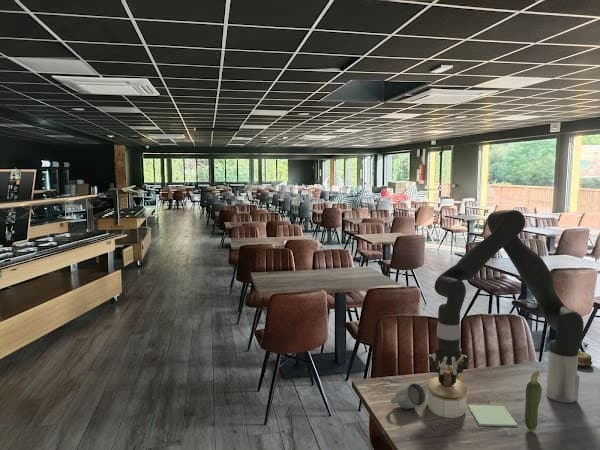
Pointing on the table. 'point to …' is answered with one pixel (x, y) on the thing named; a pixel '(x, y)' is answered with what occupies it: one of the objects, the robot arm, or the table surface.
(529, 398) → the vegetable
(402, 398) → the ceramic mug
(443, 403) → the bowl
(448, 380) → the lid
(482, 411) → the mat
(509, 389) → the table surface
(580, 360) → the cake
